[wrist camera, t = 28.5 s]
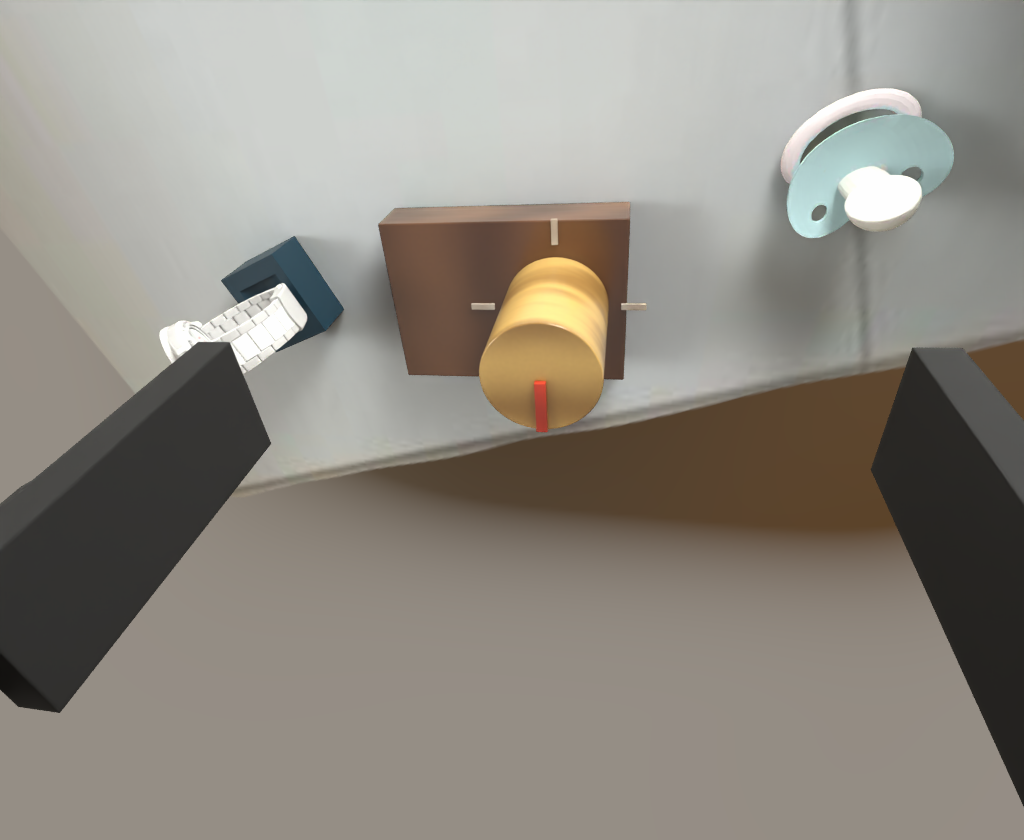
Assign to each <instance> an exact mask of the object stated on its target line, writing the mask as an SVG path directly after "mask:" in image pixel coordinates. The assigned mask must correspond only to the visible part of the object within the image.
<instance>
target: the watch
mask: <svg viewBox="0 0 1024 840" xmlns="http://www.w3.org/2000/svg"><path fill="white" fill-rule="evenodd" d="M221 281H222V283H223V284H224V285H225V287H226V288H227V289H228V290H229V292H230V293H231V294H232V296H233V297H234V298H235V300H236V301H237V302H238V303H239V304H238V305H236V307H237V308H236V307H233V308H231V309H229V310H227V311H226V312H224V313H222V314H223V315H224V316H225V317H224V316H223V315H222V314H221V315H219V316H218V317H216V318H214V319H213V320H211V321H209V322H208V323H207V324H205V325H203V326H202V324H201V323H200V322H189V321H179V322H177V323H175V324H174V325H172V326H170V327H166V328H164V329H162V330H161V332H160V340H161V343H162V346H163V349H164V351H165V353H166V355H167V356H168V358H169V360H170V361H171V363H173V362H174V361H176V360H177V359H178V358H179V357H180V356H182V355H183V354H184V353H185V352H186V351H188V350H189V349H190V348H191V347H192V346H194V345H195V344H196V343H197V342H230V344H231V346H232V348H233V351H234V353H235V356H236V358H237V361H238V363H239V366H240V368H241V371H242V373H243V374H245V373H246V372H248V371H250V370H251V369H253V368H254V367H256V366H257V365H258V364H260V363H261V361H263V360H265V359H266V358H267V357H269V356H270V355H271V354H273V353H274V352H275V351H276V352H278V351H280V350H283V349H285V348H287V347H290V346H292V345H294V344H296V343H299V342H301V341H303V340H306V339H308V338H310V337H313V336H315V335H317V334H319V333H322V332H324V331H326V330H327V329H328V327H329V326H330V325H331V324H332V323H333V322H334V320H335V319H336V318H337V317H338V316H339V315H340V314H341V312H342V311H343V310H344V309H343V307H342V306H341V304H340V303H339V301H338V300H337V298H336V297H335V295H334V294H333V292H332V291H331V289H330V288H329V286H328V285H327V283H326V282H325V281H324V279H323V278H322V276H321V275H320V273H319V272H318V270H317V269H316V267H315V266H314V264H313V263H312V261H311V260H310V258H309V257H308V255H307V254H306V252H305V251H304V250H303V248H302V247H301V245H300V244H299V242H298V241H297V239H296V238H295V236H294V237H292V238H290V239H288V240H286V241H284V242H283V243H281V244H279V245H277V246H275V247H273V248H271V249H269V250H267V251H265V252H264V253H262V254H260V255H258V256H256V257H254V258H252V259H250V260H248V261H247V262H245V263H244V264H242V265H241V266H240V267H238V268H237V269H236V270H234V271H233V272H232V273H230V274H229V275H228V276H226V277H225V278H224V279H222V280H221ZM239 311H240V312H239ZM225 318H226V319H227V320H226V319H225ZM232 318H233V319H234V320H235V321H234V320H233V319H232ZM235 322H236V323H237V324H238V325H237V324H236V323H235ZM201 326H202V327H201ZM221 329H222V330H223V331H222V330H221ZM252 340H253V341H254V343H255V344H256V345H257V346H258V348H259V349H260V350H261V351H260V350H259V349H258V348H257V346H256V345H255V344H254V343H253V341H252ZM270 345H271V346H270ZM240 354H241V355H242V356H241V355H240ZM256 355H257V356H258V357H259V358H258V357H257V356H256ZM244 359H245V360H246V361H245V360H244ZM260 360H261V361H260Z"/></svg>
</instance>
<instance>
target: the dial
mask: <svg viewBox="0 0 1024 840" xmlns="http://www.w3.org/2000/svg"><path fill="white" fill-rule="evenodd" d="M608 312H609V301H608V296H607V292H606V289H605V287H604V285H603V283H602V282H601V280H600V279H599V277H598V276H597V275H596V274H595V273H594V272H593V271H592V270H590V269H589V268H588V267H586V266H585V265H583V264H581V263H579V262H577V261H574V260H571V259H567V258H560V257H552V258H545V259H540V260H538V261H535V262H533V263H531V264H529V265H527V266H526V267H524V268H523V269H522V270H521V271H520V272H519V273H518V274H517V275H516V276H515V277H514V279H513V280H512V282H511V284H510V286H509V288H508V291H507V294H506V296H505V299H504V301H503V304H502V306H501V309H500V311H499V314H498V316H497V319H496V322H495V324H494V327H493V329H492V332H491V334H490V337H489V339H488V342H487V344H486V347H485V349H484V352H483V355H482V357H481V361H480V367H479V378H480V383H481V386H482V389H483V392H484V394H485V396H486V397H487V399H488V400H489V402H490V403H491V404H492V406H493V407H494V408H495V409H496V410H497V411H498V412H500V413H501V414H502V415H503V416H505V417H506V418H508V419H510V420H511V421H513V422H515V423H518V424H520V425H523V426H527V427H531V428H536V431H537V432H548V429H554V428H560V427H564V426H567V425H570V424H573V423H575V422H577V421H579V420H580V419H582V418H583V417H585V416H586V415H587V414H588V413H589V412H590V411H591V410H592V409H593V408H594V406H595V405H596V403H597V402H598V400H599V398H600V396H601V393H602V389H603V382H604V369H605V355H606V340H607V326H608Z"/></svg>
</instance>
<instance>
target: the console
mask: <svg viewBox="0 0 1024 840" xmlns="http://www.w3.org/2000/svg"><path fill="white" fill-rule="evenodd" d="M378 226H379V231H380V236H381V241H382V246H383V251H384V256H385V261H386V265H387V270H388V275H389V280H390V285H391V290H392V295H393V300H394V305H395V310H396V315H397V320H398V325H399V330H400V335H401V340H402V345H403V349H404V354H405V359H406V364H407V369H408V374H409V375H440V376H479V367H480V361H481V357H482V355H483V352H484V349H485V347H486V344H487V342H488V339H489V337H490V334H491V332H492V329H493V327H494V324H495V322H496V319H497V316H498V314H499V311H500V309H501V306H502V304H503V301H504V299H505V296H506V294H507V291H508V288H509V286H510V284H511V282H512V280H513V279H514V277H515V276H516V275H517V274H518V273H519V272H520V271H521V270H522V269H523V268H524V267H526V266H527V265H529V264H531V263H533V262H535V261H538V260H540V259H545V258H552V257H560V258H567V259H571V260H574V261H577V262H579V263H581V264H583V265H585V266H586V267H588V268H589V269H590V270H592V271H593V272H594V273H595V274H596V275H597V276H598V277H599V279H600V280H601V282H602V283H603V285H604V287H605V289H606V292H607V296H608V301H609V312H608V326H607V340H606V355H605V369H604V379H618V380H623V379H624V357H625V332H626V310H646V303H627V283H628V258H629V234H630V202H610V203H573V204H536V205H499V206H462V207H425V208H395V209H393V210H392V211H391V212H390V213H389V214H388V215H387V216H386V217H385V218H384V219H383V220H382V221H381V222H380V223H379V225H378Z"/></svg>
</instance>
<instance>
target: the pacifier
mask: <svg viewBox="0 0 1024 840" xmlns="http://www.w3.org/2000/svg"><path fill="white" fill-rule="evenodd" d="M870 109H887V110H891V111H893V112H894V113H896V115H884V116H879V117H874V118H870V119H866V120H863V121H860V122H857V123H854V124H852V125H850V126H847V127H845V128H843V129H841V130H839V131H838V132H836V133H834V134H832V135H831V136H829V137H828V138H827V139H825V140H824V141H823V142H821V143H820V144H819V145H817V146H816V147H815V148H814V149H813V150H812V151H811V152H810V153H809V154H808V155H807V156H806V157H805V158H804V160H803V161H802V162H801V164H800V160H801V157H802V154H803V152H804V150H805V149H806V147H807V146H808V144H809V143H810V142H811V141H812V140H813V139H814V138H815V137H816V136H817V135H818V134H819V133H820V132H821V131H823V130H824V129H825V128H827V127H828V126H830V125H831V124H833V123H835V122H836V121H838V120H840V119H842V118H844V117H846V116H849V115H852V114H854V113H857V112H861V111H865V110H870ZM921 115H922V110H921V107H920V105H919V103H918V100H917V99H916V98H914V97H913V96H912V95H910V94H909V93H908V92H904V91H901V90H897V89H873V90H868V91H863V92H858V93H856V94H853V95H850V96H848V97H845V98H842V99H840V100H838V101H836V102H834V103H832V104H831V105H829V106H827V107H825V108H824V109H822V110H820V111H819V112H818V113H816V114H815V115H814V116H812V117H811V118H810V119H809V120H807V121H806V122H805V123H804V124H803V125H802V126H801V127H800V128H799V129H798V130H797V131H796V132H795V134H794V135H793V136H792V137H791V139H790V141H789V142H788V144H787V145H786V147H785V149H784V152H783V155H782V158H781V173H782V175H783V177H784V179H785V180H786V182H787V183H789V184H790V186H789V190H788V195H787V214H788V218H789V221H790V223H791V225H792V227H793V228H794V229H795V231H796V232H797V233H799V234H800V235H802V236H804V237H807V238H818V237H822V236H825V235H827V234H830V233H832V232H834V231H835V230H837V229H839V228H840V227H841V226H843V225H844V224H845V223H846V222H848V221H849V220H850V221H851V222H852V223H853V224H854V225H856V226H857V227H859V228H861V229H863V230H867V231H873V232H881V231H887V230H891V229H894V228H896V227H899V226H900V225H902V224H904V223H905V222H906V221H908V220H909V219H910V218H911V217H912V216H913V215H914V214H915V212H916V211H917V209H918V207H919V205H920V202H921V198H922V197H923V196H925V195H927V194H929V193H930V192H932V191H933V190H934V189H935V188H937V187H938V186H939V185H940V184H941V183H942V182H943V181H944V180H945V179H946V177H947V176H948V174H949V173H950V171H951V168H952V165H953V161H954V152H953V146H952V144H951V141H950V139H949V138H948V136H947V135H946V134H945V132H944V131H943V130H942V129H940V128H939V127H938V126H937V125H936V124H934V123H932V122H931V121H929V120H927V119H924V118H921ZM910 167H919V168H920V169H921V176H920V178H919V179H918V180H914V179H912V178H910V177H907V176H902V173H903V172H904V171H905V170H906V169H908V168H910ZM818 205H825V206H826V213H825V215H824V217H823V218H822V219H820V220H818V221H814V220H812V218H811V214H812V211H813V210H814V208H815V207H817V206H818Z"/></svg>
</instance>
